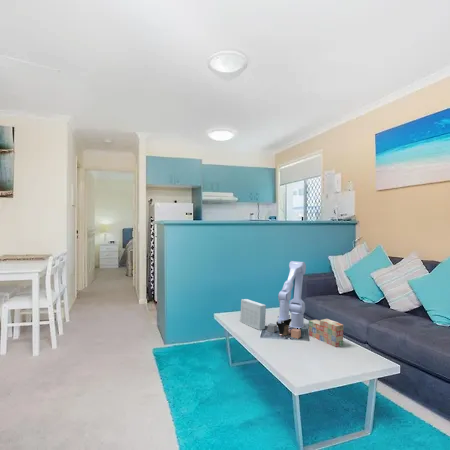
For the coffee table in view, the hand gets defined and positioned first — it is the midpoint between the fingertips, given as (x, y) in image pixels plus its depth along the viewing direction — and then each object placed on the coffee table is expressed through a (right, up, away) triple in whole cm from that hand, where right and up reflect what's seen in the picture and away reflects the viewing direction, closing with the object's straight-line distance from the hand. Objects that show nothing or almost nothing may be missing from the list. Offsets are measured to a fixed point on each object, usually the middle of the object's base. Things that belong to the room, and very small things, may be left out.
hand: (283, 331), depth 199 cm
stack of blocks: (+23, -2, -9) cm, 25 cm away
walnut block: (0, -2, 0) cm, 2 cm away
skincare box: (-18, -1, +16) cm, 25 cm away
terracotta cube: (+7, -2, -4) cm, 8 cm away
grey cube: (-7, -1, +4) cm, 8 cm away
